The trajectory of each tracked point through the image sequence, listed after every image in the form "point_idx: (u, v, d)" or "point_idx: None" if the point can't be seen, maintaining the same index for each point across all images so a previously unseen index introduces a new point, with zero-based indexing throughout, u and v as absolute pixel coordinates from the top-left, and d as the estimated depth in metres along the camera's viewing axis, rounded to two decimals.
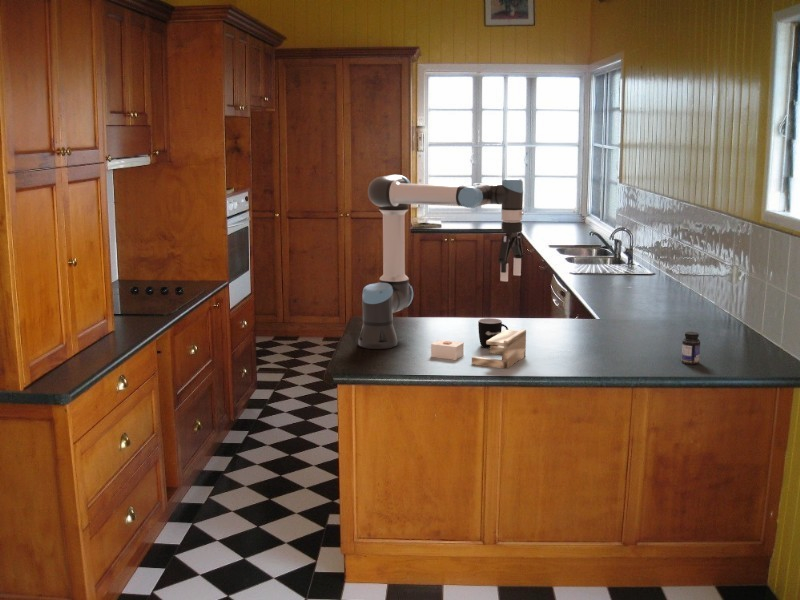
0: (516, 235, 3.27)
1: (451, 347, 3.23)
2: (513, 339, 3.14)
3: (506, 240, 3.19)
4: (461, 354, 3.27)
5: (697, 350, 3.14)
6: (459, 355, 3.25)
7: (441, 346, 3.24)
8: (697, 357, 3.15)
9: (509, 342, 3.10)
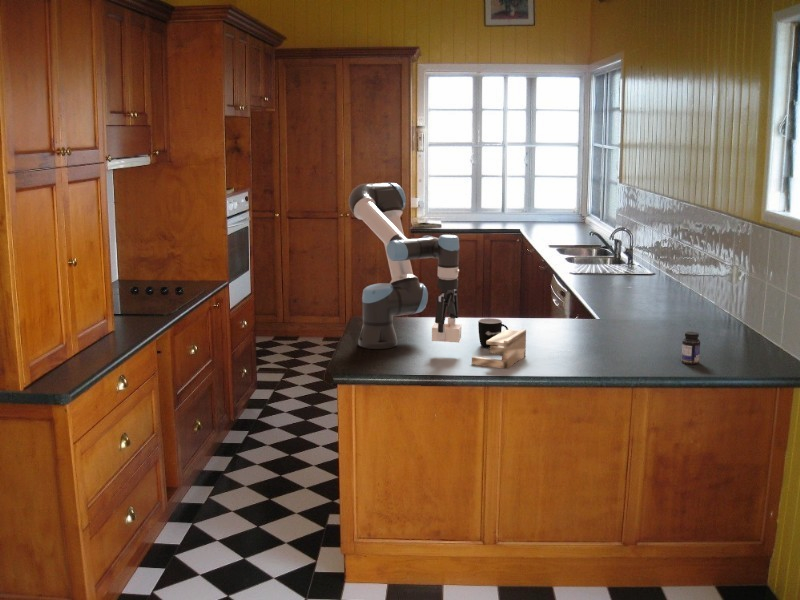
0: (452, 290, 3.25)
1: (454, 329, 3.22)
2: (513, 339, 3.14)
3: (441, 301, 3.18)
4: (460, 336, 3.28)
5: (697, 350, 3.14)
6: (459, 337, 3.26)
7: None
8: (697, 357, 3.15)
9: (509, 342, 3.10)
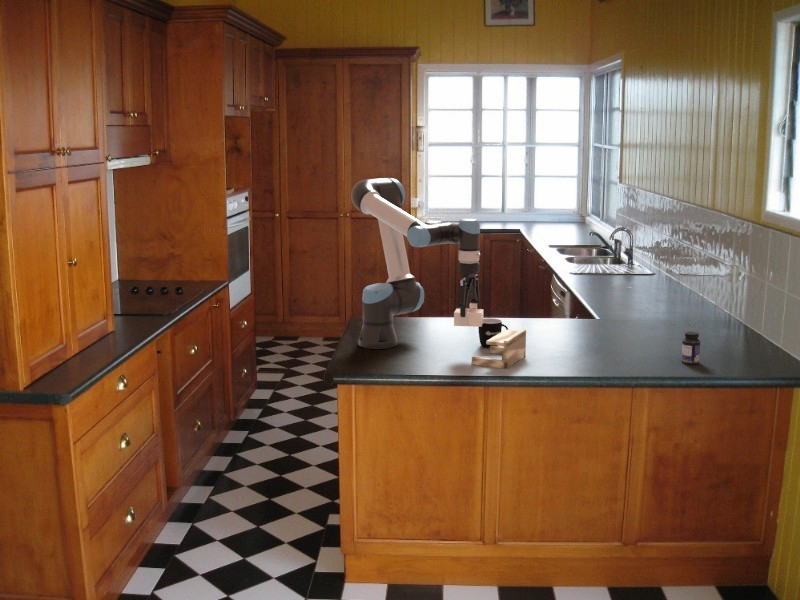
0: (474, 275, 3.23)
1: (476, 314, 3.20)
2: (513, 339, 3.14)
3: (463, 284, 3.16)
4: (482, 321, 3.25)
5: (697, 350, 3.14)
6: (482, 321, 3.23)
7: None
8: (697, 357, 3.15)
9: (509, 342, 3.10)
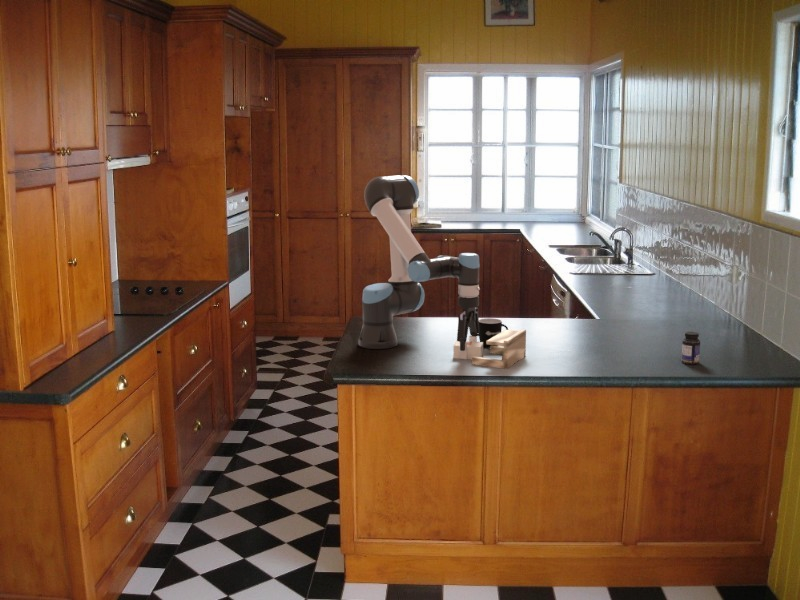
0: (473, 308, 3.25)
1: (475, 347, 3.22)
2: (513, 339, 3.14)
3: (462, 318, 3.18)
4: (482, 353, 3.28)
5: (697, 350, 3.14)
6: (481, 355, 3.26)
7: None
8: (697, 357, 3.15)
9: (509, 342, 3.10)
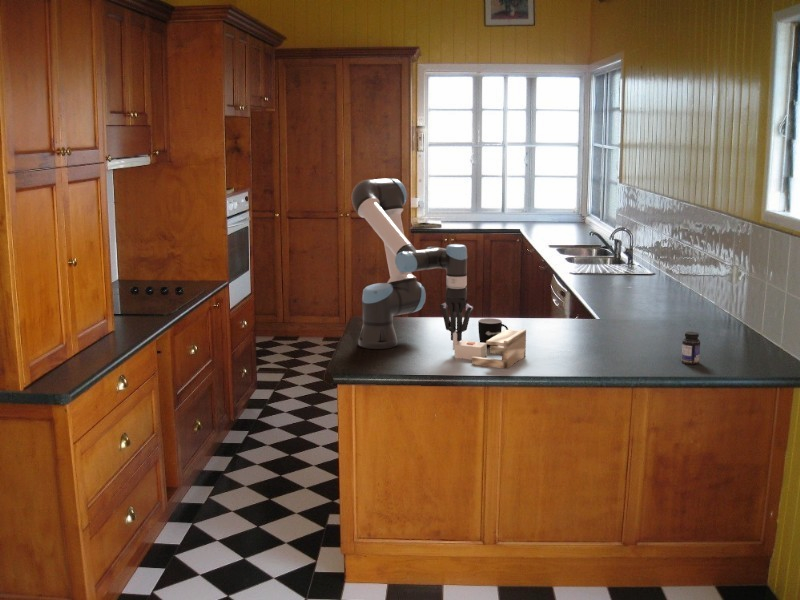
0: (461, 301, 3.23)
1: (476, 347, 3.21)
2: (513, 339, 3.14)
3: None
4: (484, 354, 3.26)
5: (697, 350, 3.14)
6: (483, 355, 3.24)
7: (465, 347, 3.23)
8: (697, 357, 3.15)
9: (509, 342, 3.10)
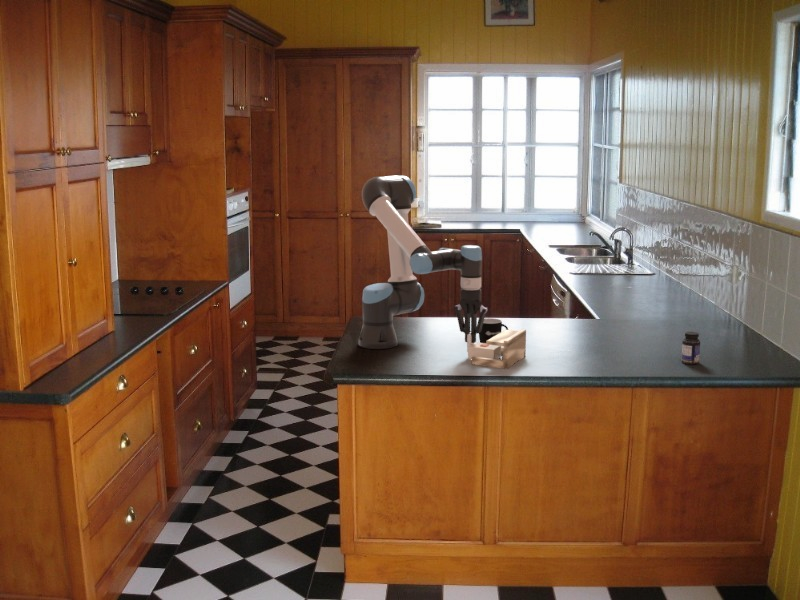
0: (476, 302, 3.21)
1: (489, 350, 3.19)
2: (513, 339, 3.14)
3: None
4: (498, 357, 3.23)
5: (697, 350, 3.14)
6: (496, 358, 3.21)
7: (478, 349, 3.20)
8: (697, 357, 3.15)
9: (509, 342, 3.10)
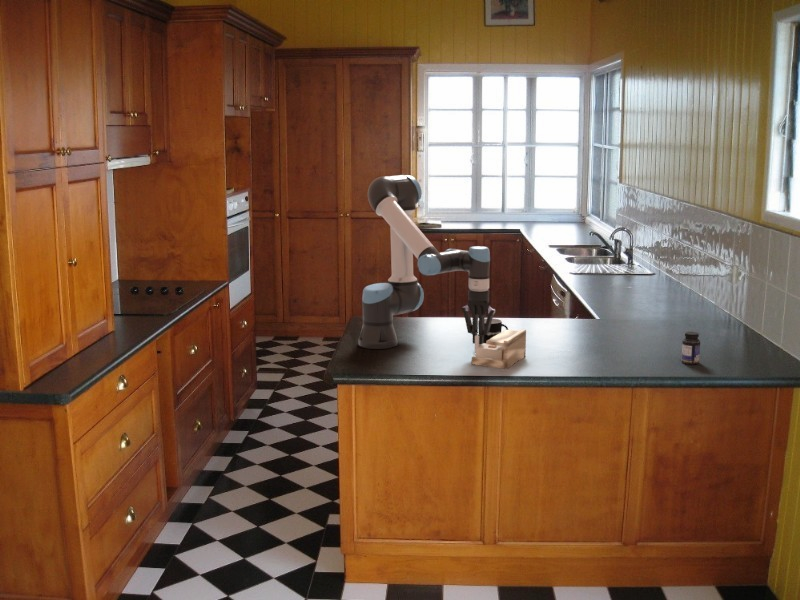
0: (484, 304, 3.19)
1: (497, 351, 3.17)
2: (513, 339, 3.14)
3: None
4: None
5: (697, 350, 3.14)
6: None
7: (486, 350, 3.19)
8: (697, 357, 3.15)
9: (509, 342, 3.10)
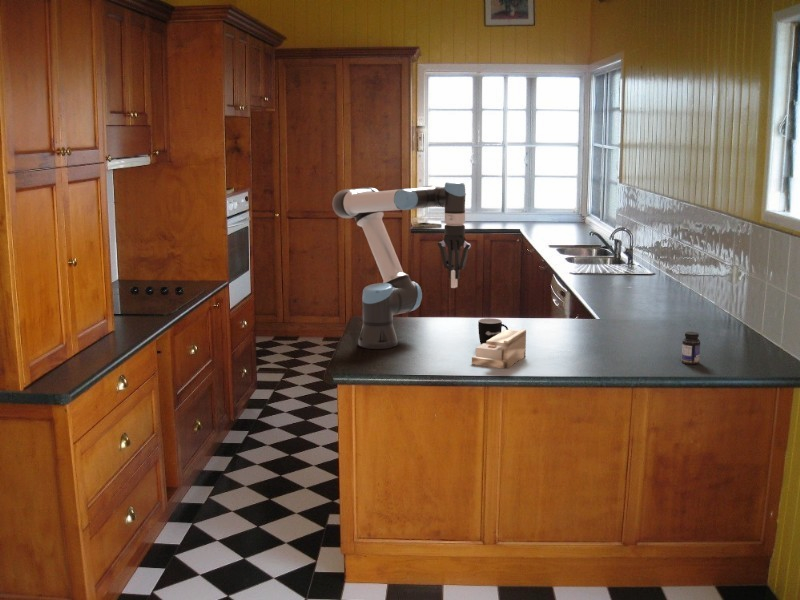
0: (459, 238, 3.25)
1: (497, 351, 3.17)
2: (513, 339, 3.14)
3: None
4: None
5: (697, 350, 3.14)
6: None
7: (486, 350, 3.19)
8: (697, 357, 3.15)
9: (509, 342, 3.10)
